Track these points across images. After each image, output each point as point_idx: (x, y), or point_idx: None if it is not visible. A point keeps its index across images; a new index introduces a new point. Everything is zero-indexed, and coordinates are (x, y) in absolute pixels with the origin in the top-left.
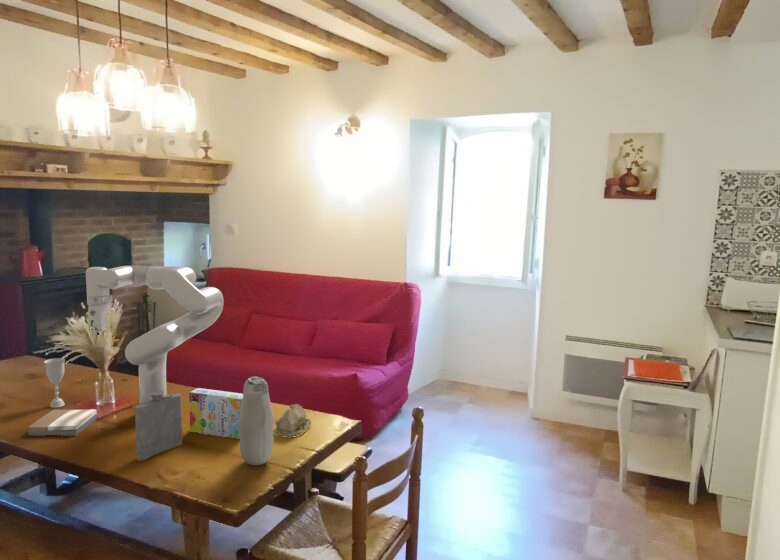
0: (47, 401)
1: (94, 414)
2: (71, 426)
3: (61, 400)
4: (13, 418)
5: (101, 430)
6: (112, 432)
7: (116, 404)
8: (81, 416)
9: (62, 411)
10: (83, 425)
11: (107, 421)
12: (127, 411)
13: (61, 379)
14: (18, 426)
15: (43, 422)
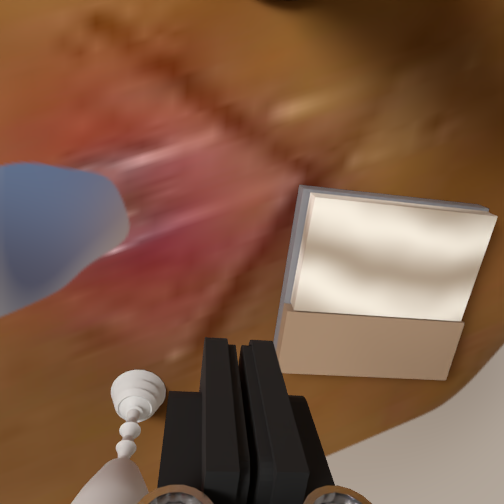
0: (95, 440)
1: (332, 195)
2: (490, 233)
3: (136, 391)
4: None
5: (449, 121)
6: (484, 63)
7: (131, 152)
8: (392, 232)
9: (304, 331)
10: (430, 202)
11: (351, 127)
12: (234, 64)
13: (115, 466)
14: (341, 421)
15: (412, 350)
